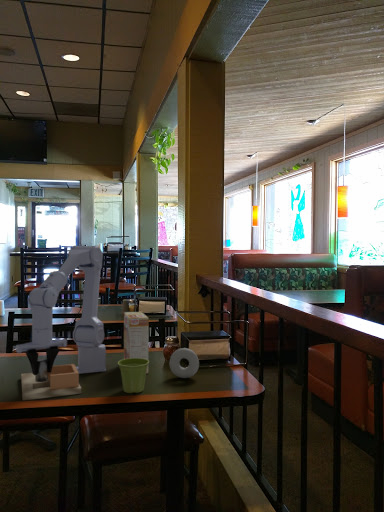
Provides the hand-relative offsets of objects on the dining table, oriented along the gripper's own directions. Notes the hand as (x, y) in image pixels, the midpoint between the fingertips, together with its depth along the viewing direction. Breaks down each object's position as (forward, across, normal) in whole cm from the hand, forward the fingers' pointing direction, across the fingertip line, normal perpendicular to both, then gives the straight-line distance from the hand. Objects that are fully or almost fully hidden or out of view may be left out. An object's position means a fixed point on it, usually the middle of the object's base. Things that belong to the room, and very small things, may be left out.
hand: (42, 373), depth 124 cm
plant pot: (+5, -22, +17) cm, 28 cm away
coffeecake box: (+5, -35, -4) cm, 35 cm away
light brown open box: (+3, -5, +2) cm, 7 cm away
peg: (+2, 0, 0) cm, 2 cm away
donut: (+5, -42, +16) cm, 45 cm away
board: (+5, -4, -3) cm, 7 cm away
